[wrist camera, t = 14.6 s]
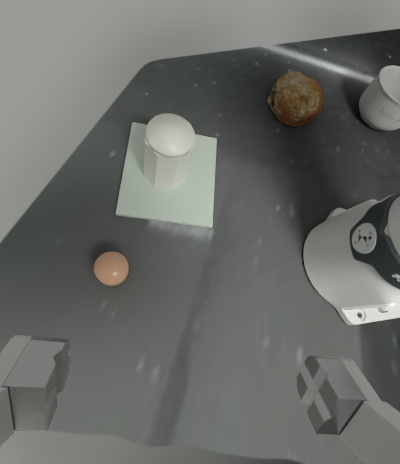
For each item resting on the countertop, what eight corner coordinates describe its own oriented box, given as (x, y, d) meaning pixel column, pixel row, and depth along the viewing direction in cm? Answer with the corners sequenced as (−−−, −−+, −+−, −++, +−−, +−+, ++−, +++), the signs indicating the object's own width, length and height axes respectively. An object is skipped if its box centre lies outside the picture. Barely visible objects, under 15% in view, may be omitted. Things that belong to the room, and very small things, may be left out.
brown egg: (131, 258, 37) (130, 253, 34) (126, 288, 36) (125, 285, 33) (100, 255, 36) (97, 249, 33) (94, 285, 35) (90, 282, 32)
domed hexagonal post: (185, 158, 43) (196, 118, 35) (182, 192, 41) (193, 158, 33) (147, 151, 42) (149, 109, 34) (142, 186, 40) (143, 149, 32)
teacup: (357, 136, 54) (392, 106, 47) (344, 93, 57) (374, 59, 50) (413, 140, 57) (454, 113, 50) (397, 99, 60) (433, 68, 53)
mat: (215, 140, 46) (216, 138, 46) (211, 228, 41) (212, 226, 40) (132, 124, 44) (132, 122, 43) (115, 215, 38) (115, 213, 38)
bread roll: (261, 100, 57) (261, 70, 49) (311, 83, 55) (319, 49, 48) (275, 140, 54) (277, 115, 46) (328, 123, 52) (339, 94, 45)
